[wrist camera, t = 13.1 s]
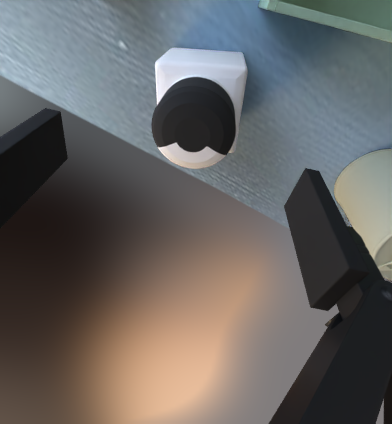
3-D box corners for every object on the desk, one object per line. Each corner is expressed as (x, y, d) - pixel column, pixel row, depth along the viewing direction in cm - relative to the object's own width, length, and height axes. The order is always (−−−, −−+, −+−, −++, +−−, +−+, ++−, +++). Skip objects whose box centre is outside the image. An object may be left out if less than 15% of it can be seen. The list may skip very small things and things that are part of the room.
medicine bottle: (170, 46, 25) (136, 75, 16) (244, 51, 25) (253, 83, 15) (171, 120, 29) (145, 175, 20) (233, 125, 29) (236, 183, 20)
